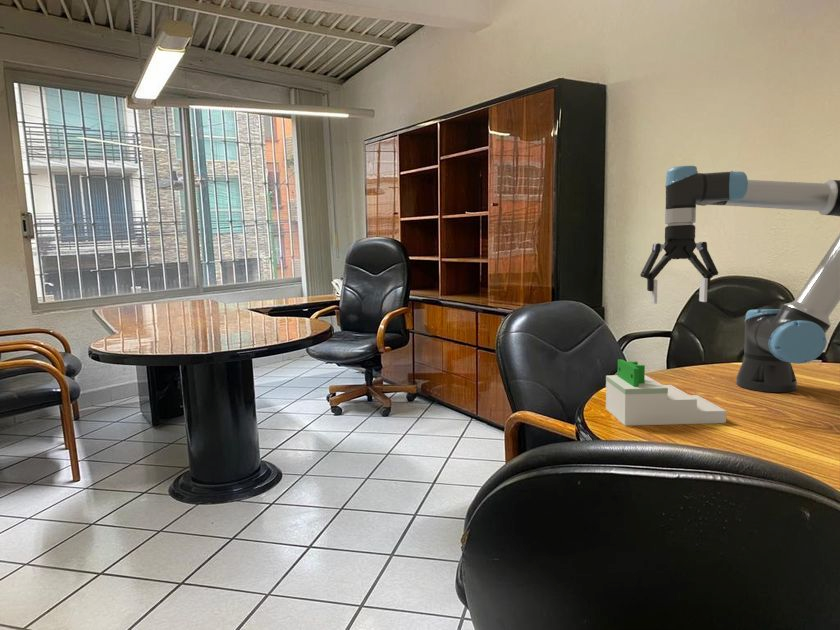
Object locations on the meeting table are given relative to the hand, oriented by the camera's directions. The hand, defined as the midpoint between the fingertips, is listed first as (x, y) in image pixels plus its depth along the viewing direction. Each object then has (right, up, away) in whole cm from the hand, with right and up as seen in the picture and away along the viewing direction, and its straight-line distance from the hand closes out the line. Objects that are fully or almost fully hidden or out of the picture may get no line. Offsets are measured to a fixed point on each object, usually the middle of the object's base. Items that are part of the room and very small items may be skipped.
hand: (678, 302), depth 150 cm
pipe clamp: (-18, -20, -14) cm, 31 cm away
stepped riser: (-10, -29, -13) cm, 34 cm away
